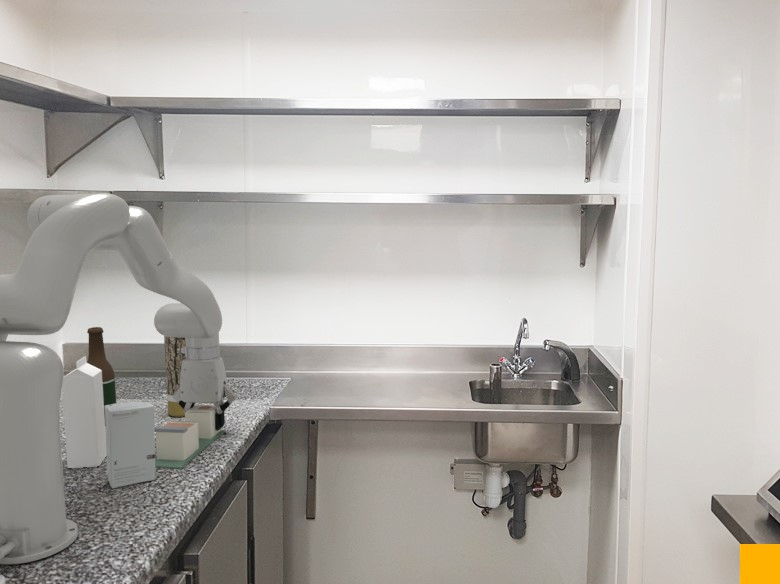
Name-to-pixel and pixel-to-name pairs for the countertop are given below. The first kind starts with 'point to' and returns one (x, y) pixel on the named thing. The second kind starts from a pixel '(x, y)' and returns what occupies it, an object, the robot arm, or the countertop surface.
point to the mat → (179, 463)
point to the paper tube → (173, 372)
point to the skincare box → (130, 443)
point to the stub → (203, 420)
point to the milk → (84, 416)
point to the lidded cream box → (176, 440)
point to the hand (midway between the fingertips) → (205, 427)
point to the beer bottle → (101, 364)
